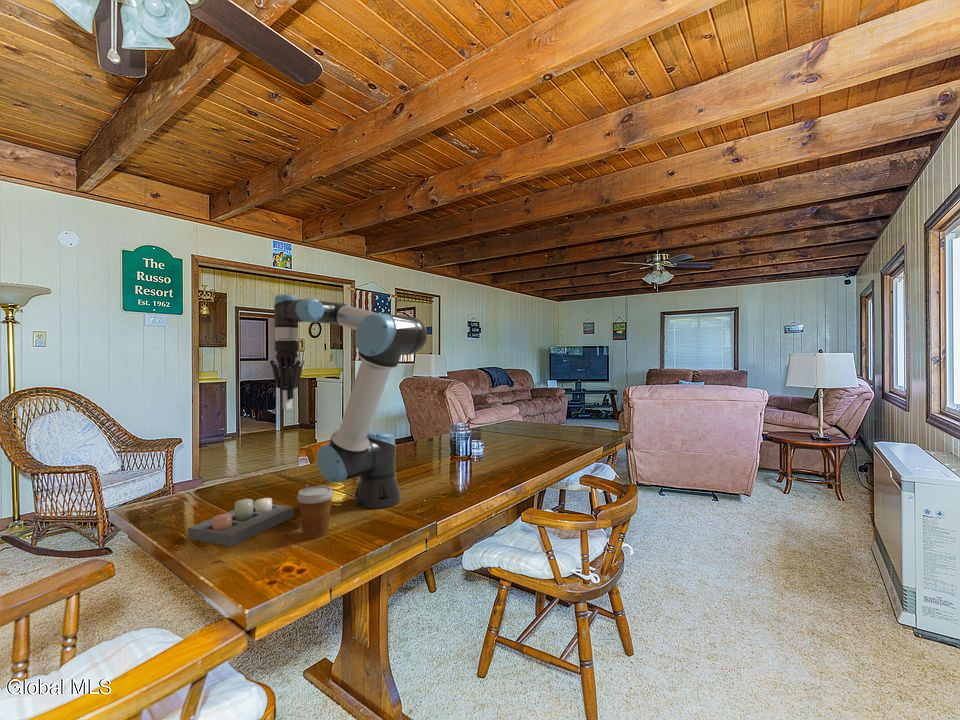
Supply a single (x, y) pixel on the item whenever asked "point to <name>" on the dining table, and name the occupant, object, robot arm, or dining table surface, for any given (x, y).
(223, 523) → the terracotta button
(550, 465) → the dining table surface
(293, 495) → the dining table surface
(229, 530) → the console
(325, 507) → the disposable coffee cup
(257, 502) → the cream short cylinder
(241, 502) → the sage button
